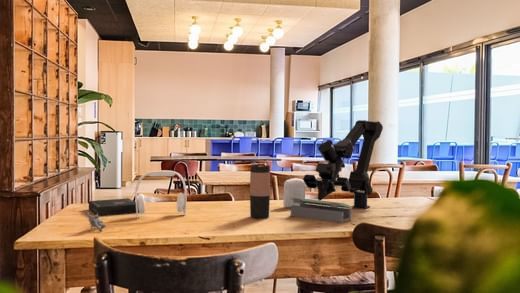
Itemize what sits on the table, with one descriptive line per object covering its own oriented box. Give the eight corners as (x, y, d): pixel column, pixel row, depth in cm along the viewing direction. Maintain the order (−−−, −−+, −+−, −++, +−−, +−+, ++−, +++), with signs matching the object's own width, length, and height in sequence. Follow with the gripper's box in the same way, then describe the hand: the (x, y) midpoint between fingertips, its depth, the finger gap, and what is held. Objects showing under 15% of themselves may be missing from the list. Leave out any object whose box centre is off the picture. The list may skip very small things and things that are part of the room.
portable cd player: (141, 213, 192) (141, 203, 192) (97, 217, 183) (97, 207, 183) (129, 207, 206) (129, 198, 206) (88, 210, 197) (88, 201, 197)
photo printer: (300, 204, 214) (300, 177, 213) (306, 206, 210) (306, 178, 210) (281, 206, 208) (282, 178, 208) (287, 208, 205) (288, 179, 204)
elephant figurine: (117, 228, 163) (105, 224, 155) (104, 241, 163) (91, 237, 154) (100, 208, 167) (87, 203, 158) (87, 220, 166) (74, 215, 157)
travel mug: (255, 219, 179) (255, 166, 179) (246, 216, 186) (246, 165, 185) (273, 218, 183) (273, 166, 182) (263, 214, 190) (264, 164, 189)
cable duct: (301, 212, 195) (301, 203, 194) (351, 219, 182) (351, 209, 182) (290, 215, 188) (290, 205, 188) (341, 222, 175) (342, 212, 175)
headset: (185, 213, 191) (185, 169, 190) (188, 216, 184) (188, 170, 184) (134, 216, 185) (133, 170, 184) (135, 219, 178) (135, 171, 177)
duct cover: (300, 205, 194) (301, 200, 195) (351, 211, 181) (352, 206, 182) (289, 202, 187) (290, 196, 188) (341, 208, 174) (342, 202, 175)
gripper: (305, 154, 193) (290, 184, 184) (348, 156, 182) (334, 188, 173) (314, 172, 199) (300, 202, 191) (356, 175, 189) (343, 207, 180)
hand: (319, 199), depth 184 cm, fingers closed
